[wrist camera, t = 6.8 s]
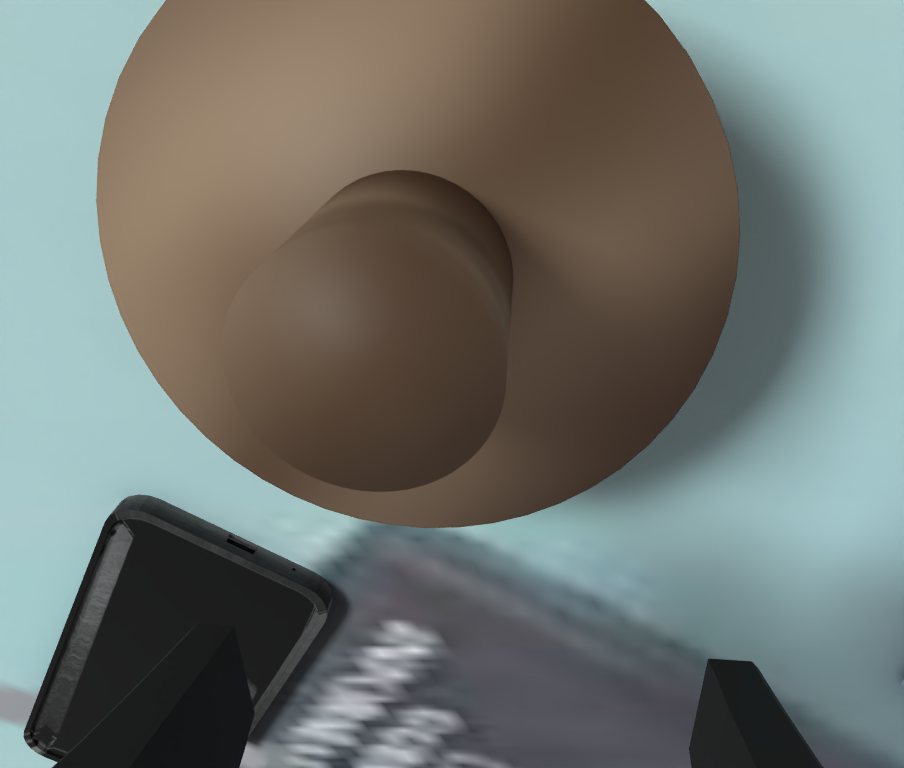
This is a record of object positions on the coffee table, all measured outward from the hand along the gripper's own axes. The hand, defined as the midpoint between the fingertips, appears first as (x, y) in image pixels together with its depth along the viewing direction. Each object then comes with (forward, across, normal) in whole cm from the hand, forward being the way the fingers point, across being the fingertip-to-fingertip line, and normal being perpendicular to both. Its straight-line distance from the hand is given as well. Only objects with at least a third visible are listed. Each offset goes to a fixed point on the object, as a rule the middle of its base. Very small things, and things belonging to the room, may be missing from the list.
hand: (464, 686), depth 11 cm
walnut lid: (+6, +2, -5) cm, 8 cm away
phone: (+10, +12, +12) cm, 20 cm away
